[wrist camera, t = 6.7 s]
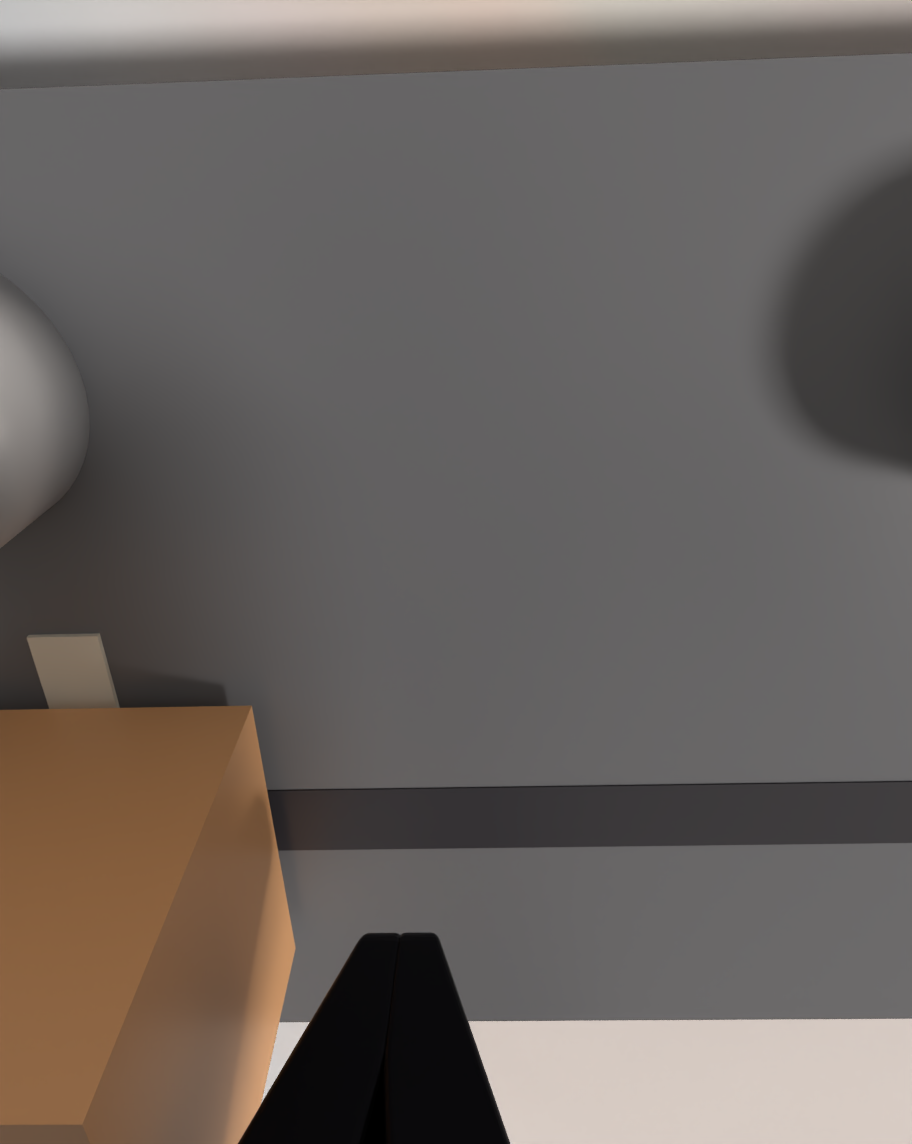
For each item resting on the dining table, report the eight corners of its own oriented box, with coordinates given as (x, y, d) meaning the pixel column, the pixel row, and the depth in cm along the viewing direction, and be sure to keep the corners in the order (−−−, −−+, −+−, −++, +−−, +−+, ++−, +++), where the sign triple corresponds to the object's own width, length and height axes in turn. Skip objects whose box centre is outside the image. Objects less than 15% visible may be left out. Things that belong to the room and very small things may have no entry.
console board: (1066, 929, 13) (1220, 1127, 10) (-28, 939, 13) (-151, 1130, 11) (1463, 48, 8) (2009, -17, 5) (-393, 120, 8) (-821, 97, 5)
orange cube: (295, 948, 11) (191, 1415, 7) (32, 950, 11) (-226, 1411, 7) (251, 705, 9) (73, 1144, 5) (-64, 711, 9) (-490, 1144, 5)
